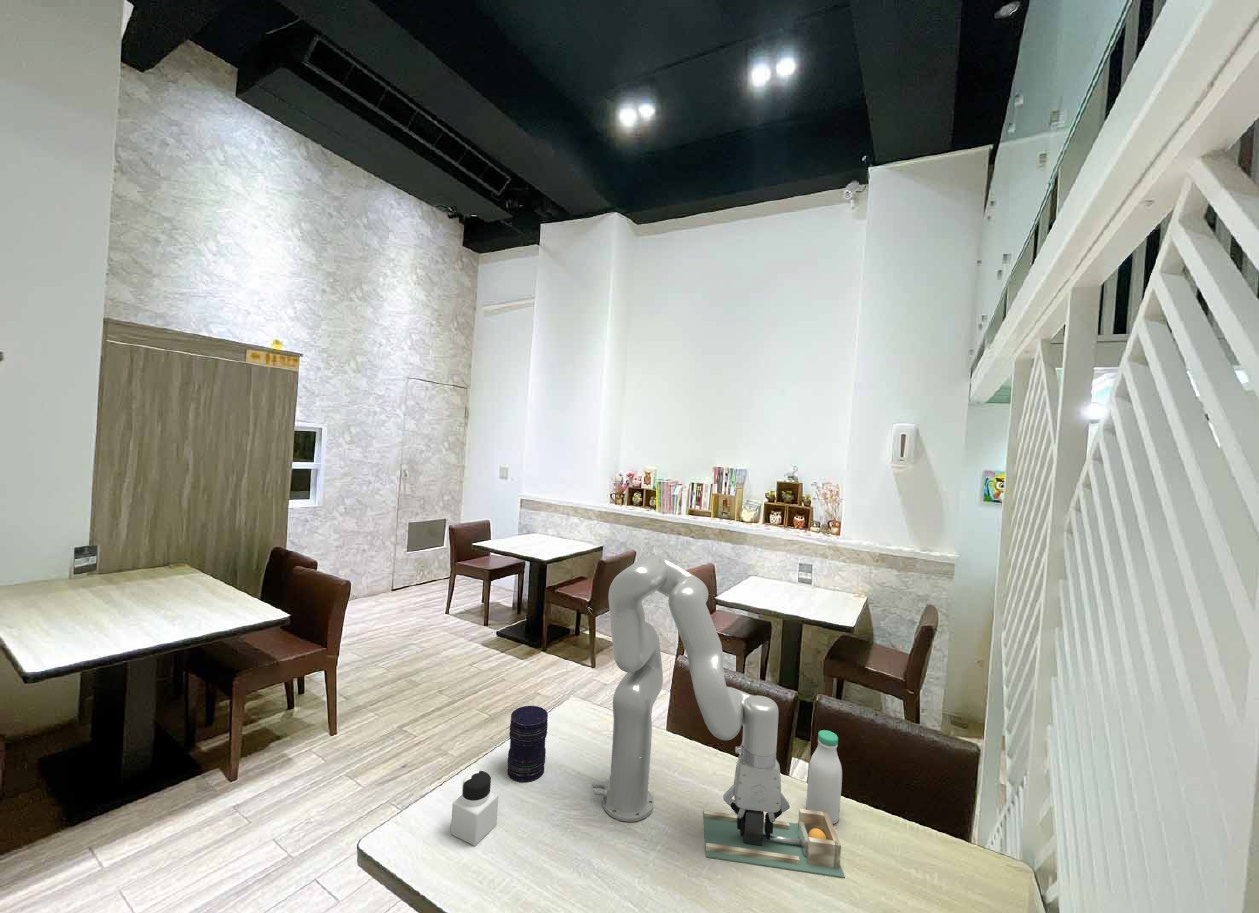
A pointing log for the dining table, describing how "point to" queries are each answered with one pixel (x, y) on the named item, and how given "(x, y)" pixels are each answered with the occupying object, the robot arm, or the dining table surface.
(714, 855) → the mat
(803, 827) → the kicker
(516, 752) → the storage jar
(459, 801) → the medicine bottle
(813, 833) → the ball
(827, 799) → the milk bottle
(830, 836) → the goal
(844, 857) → the dining table surface
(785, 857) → the rails
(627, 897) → the dining table surface
